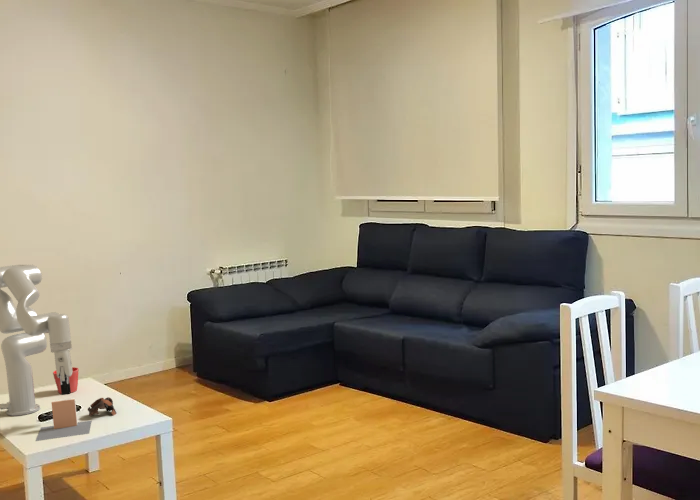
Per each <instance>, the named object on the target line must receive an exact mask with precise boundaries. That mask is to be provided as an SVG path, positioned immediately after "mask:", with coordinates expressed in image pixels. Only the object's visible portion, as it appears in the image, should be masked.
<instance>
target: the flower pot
mask: <svg viewBox="0 0 700 500" xmlns="http://www.w3.org/2000/svg"><path fill="white" fill-rule="evenodd" d="M72 370H73V372H72V375H71V376H70V377H69V383H70V389H71V393H75V392H78V391H77V390H78V385H79V383H78V382H79V367H74V366H72ZM52 375H53V378H54V382H55V385H56V389H57V392H58V394H60V395H62V394H61V382H60V378H58V377H57V372H56V370H54V371H53V372H52ZM71 393H70V394H71Z"/></svg>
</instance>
